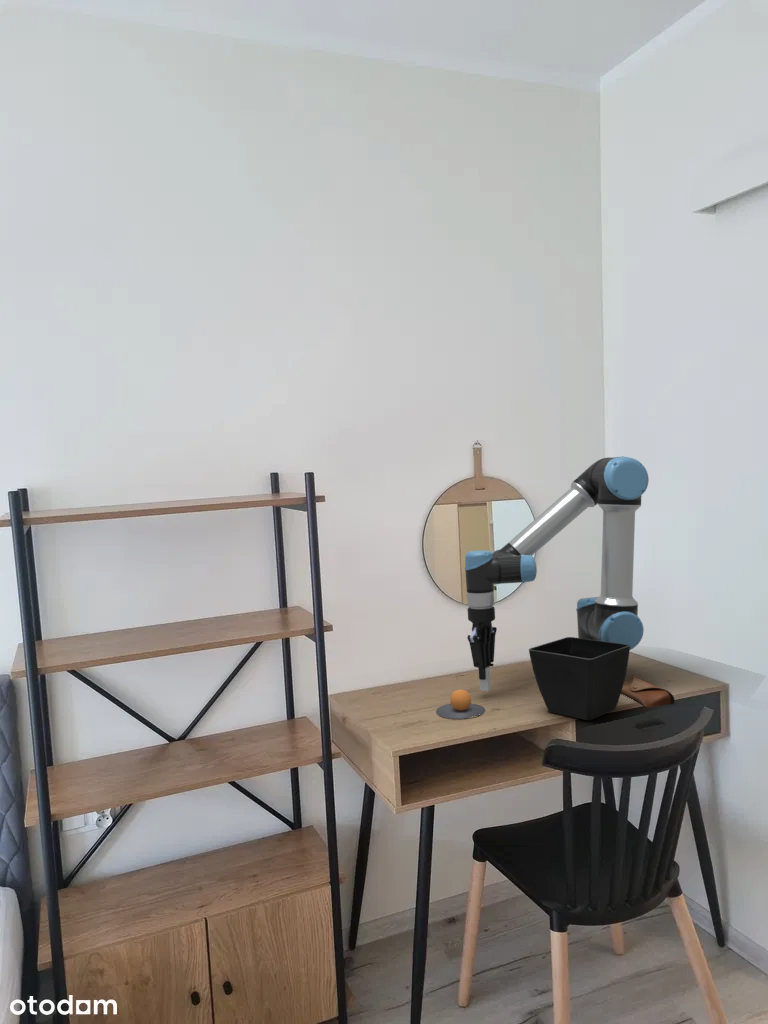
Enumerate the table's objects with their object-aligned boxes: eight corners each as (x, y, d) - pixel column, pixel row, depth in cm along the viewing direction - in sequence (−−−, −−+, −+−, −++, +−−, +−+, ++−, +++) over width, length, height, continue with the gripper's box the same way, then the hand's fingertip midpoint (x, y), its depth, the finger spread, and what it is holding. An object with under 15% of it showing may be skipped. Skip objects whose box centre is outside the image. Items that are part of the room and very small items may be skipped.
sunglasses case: (608, 689, 213) (618, 668, 213) (628, 699, 214) (637, 677, 215) (647, 708, 195) (657, 684, 196) (667, 718, 197) (678, 695, 198)
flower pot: (571, 695, 210) (568, 634, 209) (634, 708, 196) (631, 643, 195) (529, 713, 197) (526, 648, 196) (594, 728, 183) (591, 659, 182)
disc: (451, 701, 211) (451, 700, 211) (493, 707, 203) (493, 706, 203) (426, 714, 200) (426, 714, 200) (469, 722, 192) (469, 721, 192)
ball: (454, 711, 205) (458, 691, 207) (472, 714, 201) (476, 693, 203) (444, 706, 201) (448, 686, 203) (463, 709, 197) (467, 688, 199)
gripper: (480, 601, 219) (484, 682, 220) (457, 609, 208) (461, 694, 210) (503, 603, 214) (507, 685, 216) (481, 611, 204) (486, 698, 205)
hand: (485, 689), depth 213 cm, fingers closed
